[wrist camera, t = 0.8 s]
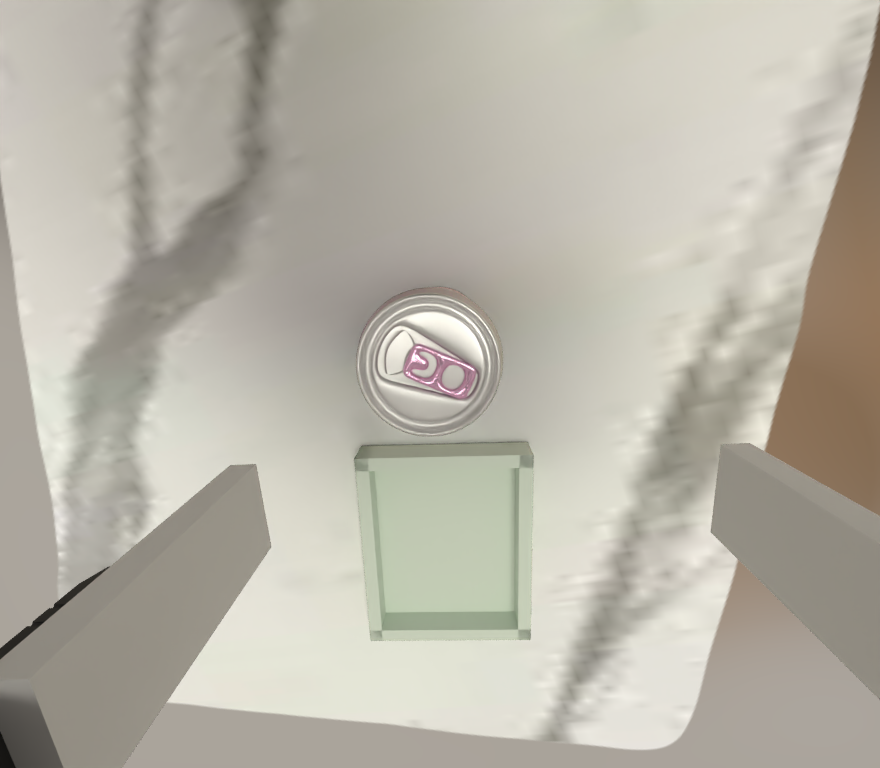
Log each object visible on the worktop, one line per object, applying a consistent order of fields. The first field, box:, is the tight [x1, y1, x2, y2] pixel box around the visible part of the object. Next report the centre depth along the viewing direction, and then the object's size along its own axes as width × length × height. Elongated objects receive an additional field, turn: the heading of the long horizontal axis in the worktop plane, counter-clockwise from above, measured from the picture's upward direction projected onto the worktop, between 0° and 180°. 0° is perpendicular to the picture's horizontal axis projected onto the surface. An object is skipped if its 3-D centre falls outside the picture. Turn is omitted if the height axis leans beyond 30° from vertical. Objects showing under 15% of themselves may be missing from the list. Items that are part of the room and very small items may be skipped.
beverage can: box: [356, 287, 503, 436], centre depth 23 cm, size 6×6×15 cm
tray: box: [354, 442, 534, 641], centre depth 33 cm, size 16×13×2 cm
